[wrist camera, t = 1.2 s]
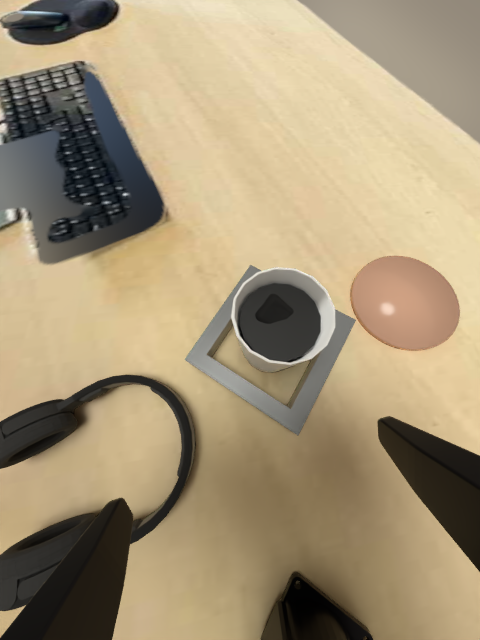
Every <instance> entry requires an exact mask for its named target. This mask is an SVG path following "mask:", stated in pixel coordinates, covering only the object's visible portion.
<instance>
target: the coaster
mask: <svg viewBox="0 0 480 640" xmlns="http://www.w3.org/2000/svg"><path fill="white" fill-rule="evenodd" d="M351 303H352V308H353V310H354V313H355V315H356V317H357V319H358V320H359V322H360V323H361V325H362V326H363V327H364V328H365V329H366V330H367V331H368V332H369V333H370V334H371V335H372V336H374V337H375V338H376V339H378V340H379V341H381V342H383V343H385V344H387V345H389V346H392V347H395V348H398V349H403V350H423V349H428V348H432V347H435V346H437V345H439V344H441V343H443V342H444V341H446V340H447V339H448V338H449V337H450V336H451V335H452V334H453V333H454V331H455V329H456V327H457V325H458V322H459V316H460V309H459V303H458V299H457V296H456V294H455V292H454V290H453V288H452V287H451V285H450V284H449V282H448V281H447V280H446V279H445V278H444V277H443V276H442V275H441V274H440V273H439V272H438V271H436V270H435V269H434V268H432V267H431V266H429V265H427V264H425V263H423V262H421V261H419V260H416V259H413V258H409V257H403V256H387V257H382V258H379V259H376V260H374V261H372V262H370V263H368V264H367V265H366V266H365V267H363V269H362V270H361V271H360V272H359V273H358V274H357V276H356V277H355V279H354V281H353V284H352V287H351Z"/></svg>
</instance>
